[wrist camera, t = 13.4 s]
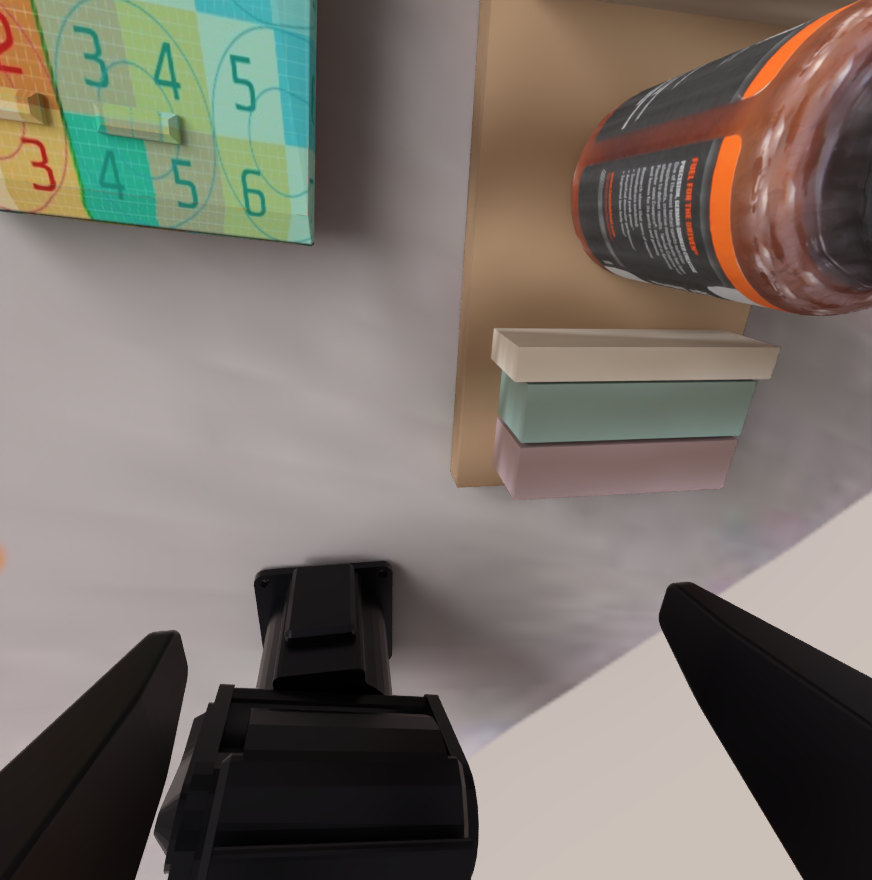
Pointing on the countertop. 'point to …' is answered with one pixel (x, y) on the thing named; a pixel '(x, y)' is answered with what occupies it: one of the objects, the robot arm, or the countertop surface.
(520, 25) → the book rack
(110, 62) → the puzzle game
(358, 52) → the countertop surface
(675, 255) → the supplement bottle
